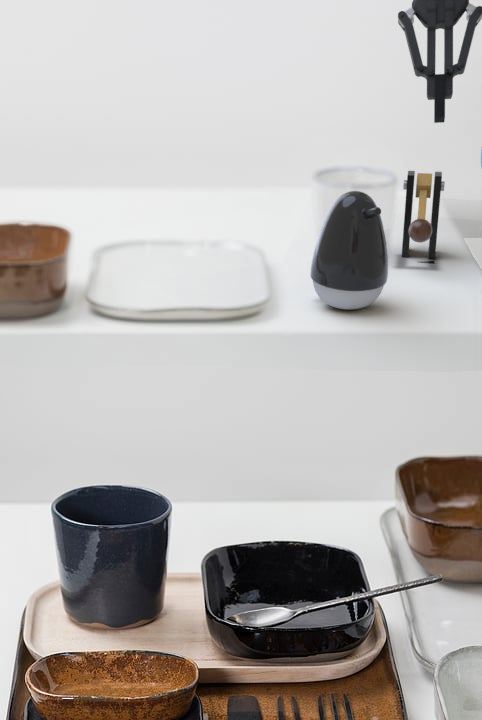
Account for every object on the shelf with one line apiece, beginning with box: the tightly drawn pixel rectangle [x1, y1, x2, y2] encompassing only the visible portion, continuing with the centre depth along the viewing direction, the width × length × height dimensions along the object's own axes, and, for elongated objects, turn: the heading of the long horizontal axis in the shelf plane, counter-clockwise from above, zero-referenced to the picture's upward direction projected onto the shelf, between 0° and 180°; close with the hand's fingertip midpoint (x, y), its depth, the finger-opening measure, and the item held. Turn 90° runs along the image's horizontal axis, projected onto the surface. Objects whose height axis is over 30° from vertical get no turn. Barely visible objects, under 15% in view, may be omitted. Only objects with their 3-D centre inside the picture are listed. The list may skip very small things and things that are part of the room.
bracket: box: [401, 170, 446, 265], centre depth 165 cm, size 8×6×14 cm
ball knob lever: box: [409, 172, 433, 243], centre depth 160 cm, size 13×3×3 cm
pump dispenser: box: [310, 190, 389, 311], centre depth 143 cm, size 10×10×15 cm
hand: (439, 119), depth 164 cm, fingers closed
